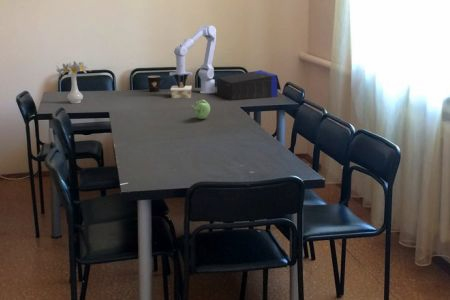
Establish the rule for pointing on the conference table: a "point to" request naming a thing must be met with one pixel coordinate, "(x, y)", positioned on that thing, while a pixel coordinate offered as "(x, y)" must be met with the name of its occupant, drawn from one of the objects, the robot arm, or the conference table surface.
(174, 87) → the lid
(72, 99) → the flower vase
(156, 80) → the coffee mug
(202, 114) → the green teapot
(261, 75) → the headphone box
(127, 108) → the conference table surface
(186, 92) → the box
